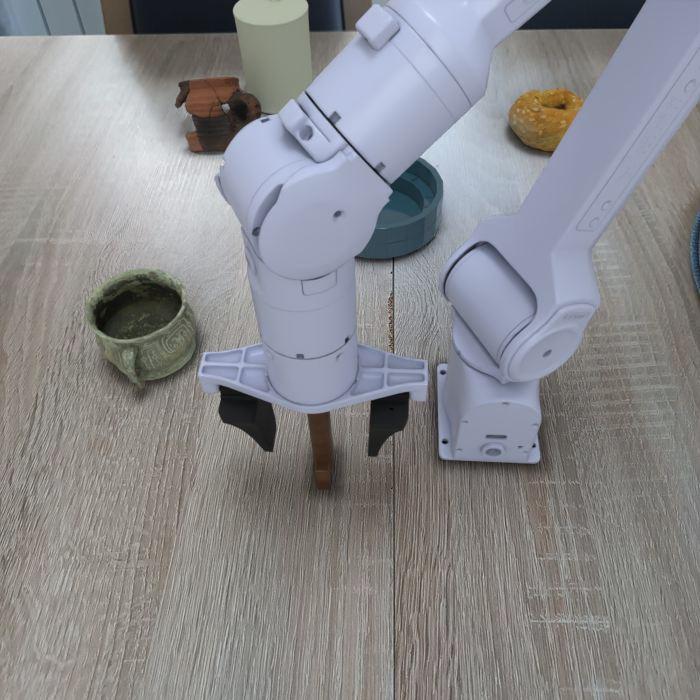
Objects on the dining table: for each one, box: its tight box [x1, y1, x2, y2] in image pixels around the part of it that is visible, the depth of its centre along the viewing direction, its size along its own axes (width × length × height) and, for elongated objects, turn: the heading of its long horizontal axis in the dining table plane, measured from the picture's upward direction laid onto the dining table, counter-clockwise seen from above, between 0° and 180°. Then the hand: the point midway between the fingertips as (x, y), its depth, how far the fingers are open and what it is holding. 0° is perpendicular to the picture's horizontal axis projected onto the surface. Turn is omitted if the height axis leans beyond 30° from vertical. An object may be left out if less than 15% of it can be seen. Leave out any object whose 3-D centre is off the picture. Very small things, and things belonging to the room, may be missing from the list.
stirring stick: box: [306, 411, 336, 491], centre depth 48 cm, size 3×2×10 cm, turn 176°
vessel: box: [83, 267, 197, 389], centre depth 58 cm, size 12×9×6 cm
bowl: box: [355, 156, 444, 260], centre depth 70 cm, size 13×13×4 cm
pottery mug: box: [174, 76, 263, 152], centre depth 81 cm, size 12×10×8 cm
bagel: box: [507, 87, 585, 152], centre depth 79 cm, size 10×11×5 cm
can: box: [232, 0, 314, 115], centre depth 83 cm, size 9×9×12 cm
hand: (321, 442), depth 49 cm, fingers open, 7 cm apart
